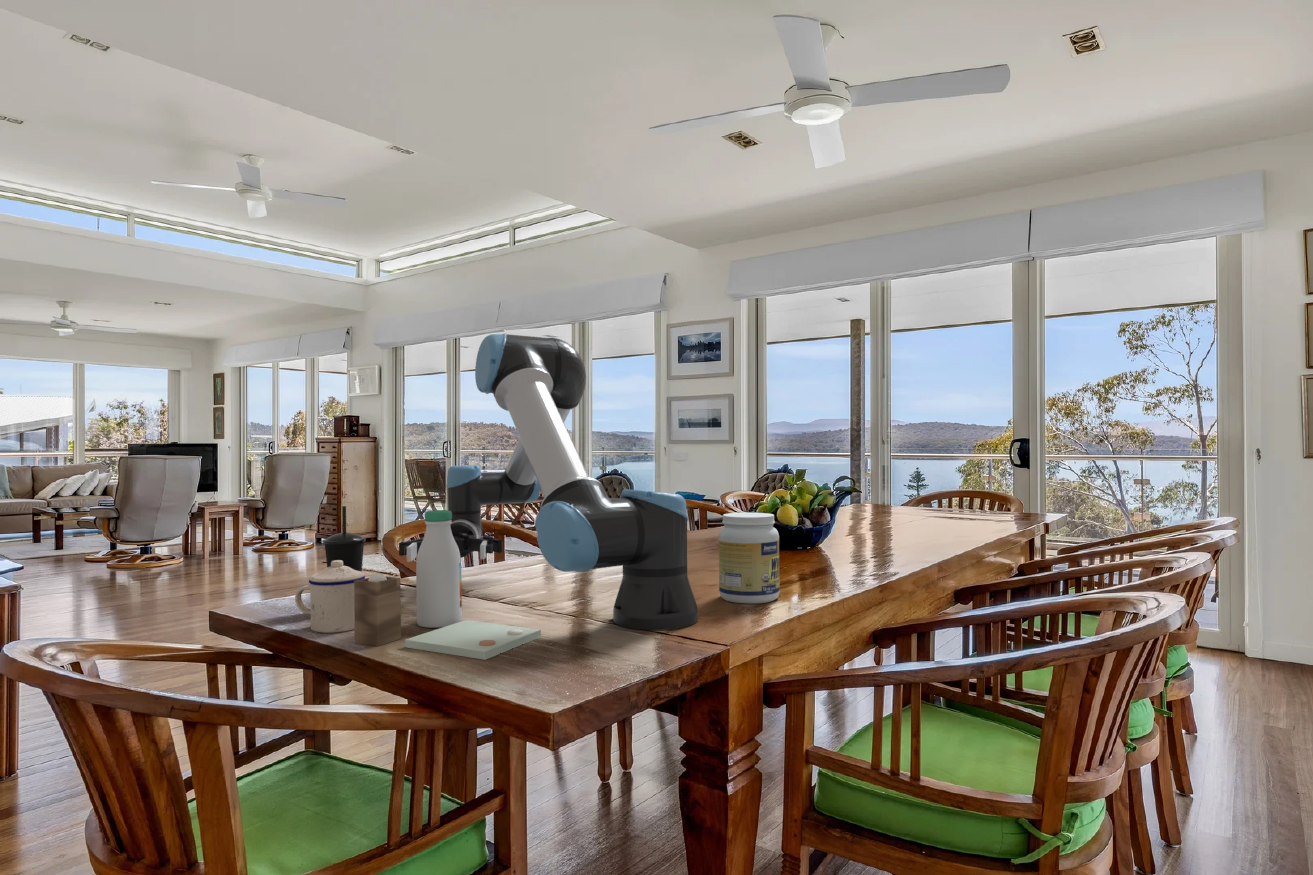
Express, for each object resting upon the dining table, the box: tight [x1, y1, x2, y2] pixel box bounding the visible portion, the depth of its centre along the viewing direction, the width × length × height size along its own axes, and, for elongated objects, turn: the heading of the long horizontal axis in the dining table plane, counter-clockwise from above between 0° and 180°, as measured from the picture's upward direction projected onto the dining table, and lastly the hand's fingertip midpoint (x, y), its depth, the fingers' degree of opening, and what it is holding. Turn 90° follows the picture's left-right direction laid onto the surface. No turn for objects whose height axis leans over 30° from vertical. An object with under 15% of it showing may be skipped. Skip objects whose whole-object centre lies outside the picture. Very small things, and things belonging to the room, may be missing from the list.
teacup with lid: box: [294, 560, 366, 634], centre depth 132 cm, size 12×9×12 cm
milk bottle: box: [415, 509, 463, 629], centre depth 133 cm, size 8×8×20 cm
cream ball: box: [368, 572, 387, 582], centre depth 122 cm, size 3×3×3 cm
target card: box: [404, 619, 542, 661], centre depth 121 cm, size 16×14×2 cm
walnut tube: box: [354, 575, 402, 647], centre depth 122 cm, size 5×5×10 cm
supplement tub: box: [718, 512, 780, 604], centre depth 151 cm, size 12×12×17 cm
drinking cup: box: [322, 505, 366, 572], centre depth 146 cm, size 8×8×20 cm
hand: (445, 553), depth 143 cm, fingers open, 13 cm apart
